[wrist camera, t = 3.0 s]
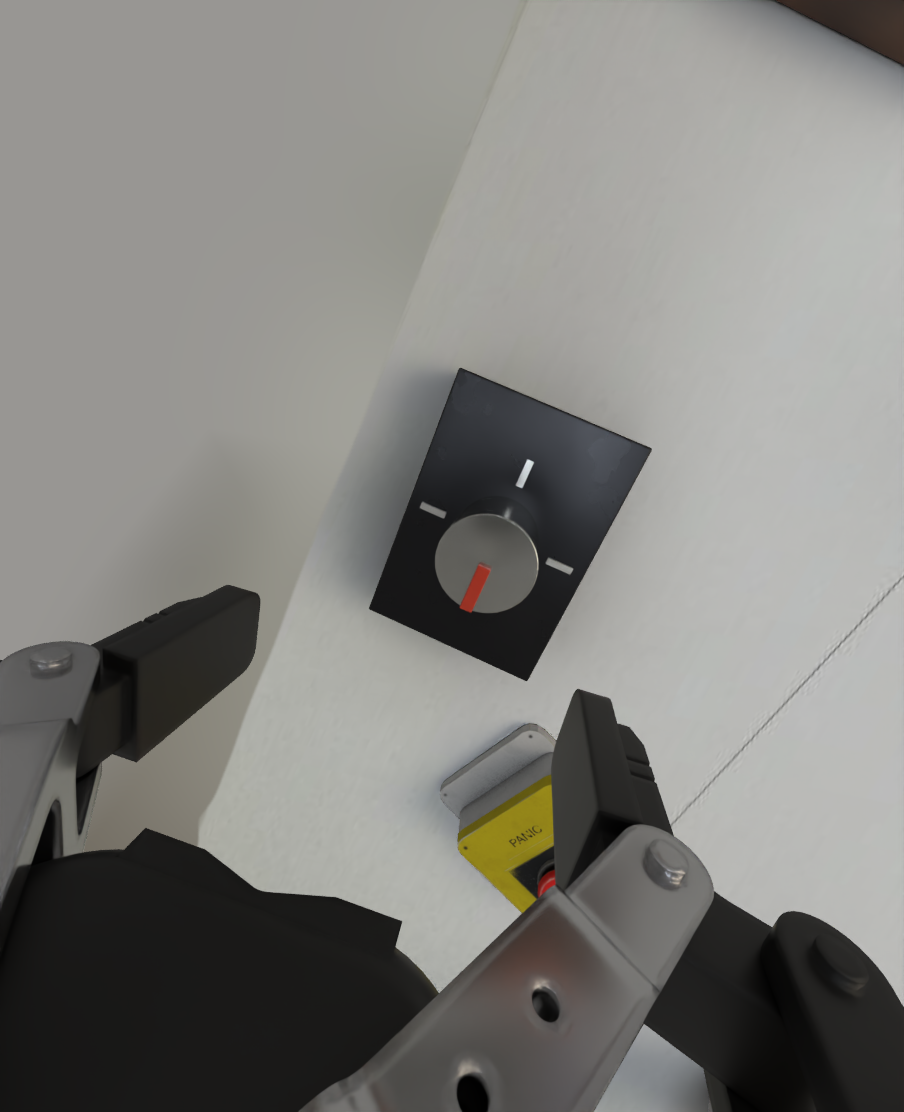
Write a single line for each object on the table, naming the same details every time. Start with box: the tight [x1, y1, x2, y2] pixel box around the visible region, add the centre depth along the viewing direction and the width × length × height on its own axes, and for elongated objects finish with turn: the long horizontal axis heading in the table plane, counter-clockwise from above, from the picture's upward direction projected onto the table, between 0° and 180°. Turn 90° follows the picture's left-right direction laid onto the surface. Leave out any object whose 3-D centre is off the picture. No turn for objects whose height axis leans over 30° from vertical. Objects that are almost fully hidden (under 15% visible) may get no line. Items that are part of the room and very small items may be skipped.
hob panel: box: [369, 368, 652, 681], centre depth 25 cm, size 14×10×3 cm
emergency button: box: [440, 724, 556, 913], centre depth 30 cm, size 9×4×15 cm
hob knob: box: [435, 496, 539, 613], centre depth 22 cm, size 4×4×5 cm
